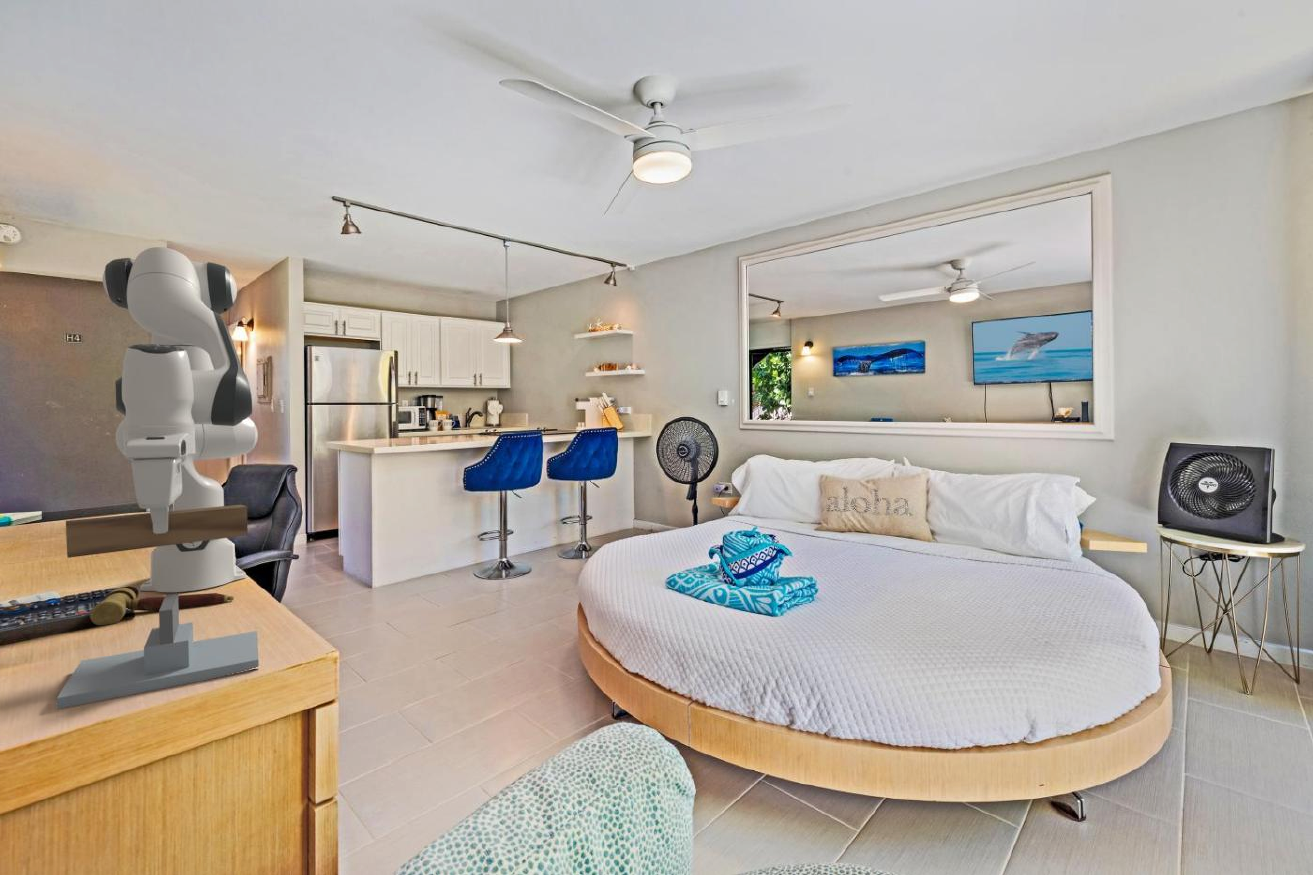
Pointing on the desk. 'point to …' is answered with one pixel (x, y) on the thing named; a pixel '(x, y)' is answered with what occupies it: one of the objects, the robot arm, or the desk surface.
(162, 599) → the gavel
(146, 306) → the robot arm
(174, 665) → the ridge stand
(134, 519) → the bar
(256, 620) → the desk surface
